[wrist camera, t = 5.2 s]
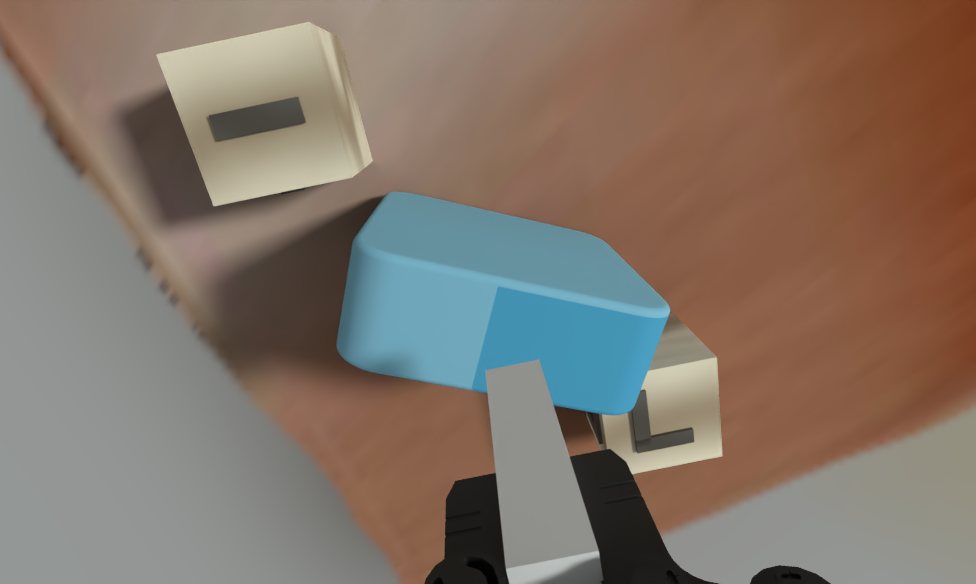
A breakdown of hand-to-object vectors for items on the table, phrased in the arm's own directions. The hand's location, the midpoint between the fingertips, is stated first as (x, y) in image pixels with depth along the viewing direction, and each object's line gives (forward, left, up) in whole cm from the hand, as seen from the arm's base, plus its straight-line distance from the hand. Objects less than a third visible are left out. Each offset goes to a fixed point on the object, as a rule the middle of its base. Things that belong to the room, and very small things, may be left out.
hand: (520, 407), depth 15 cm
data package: (0, 0, -17) cm, 17 cm away
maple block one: (-9, -8, -16) cm, 20 cm away
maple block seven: (+9, +7, -16) cm, 20 cm away
